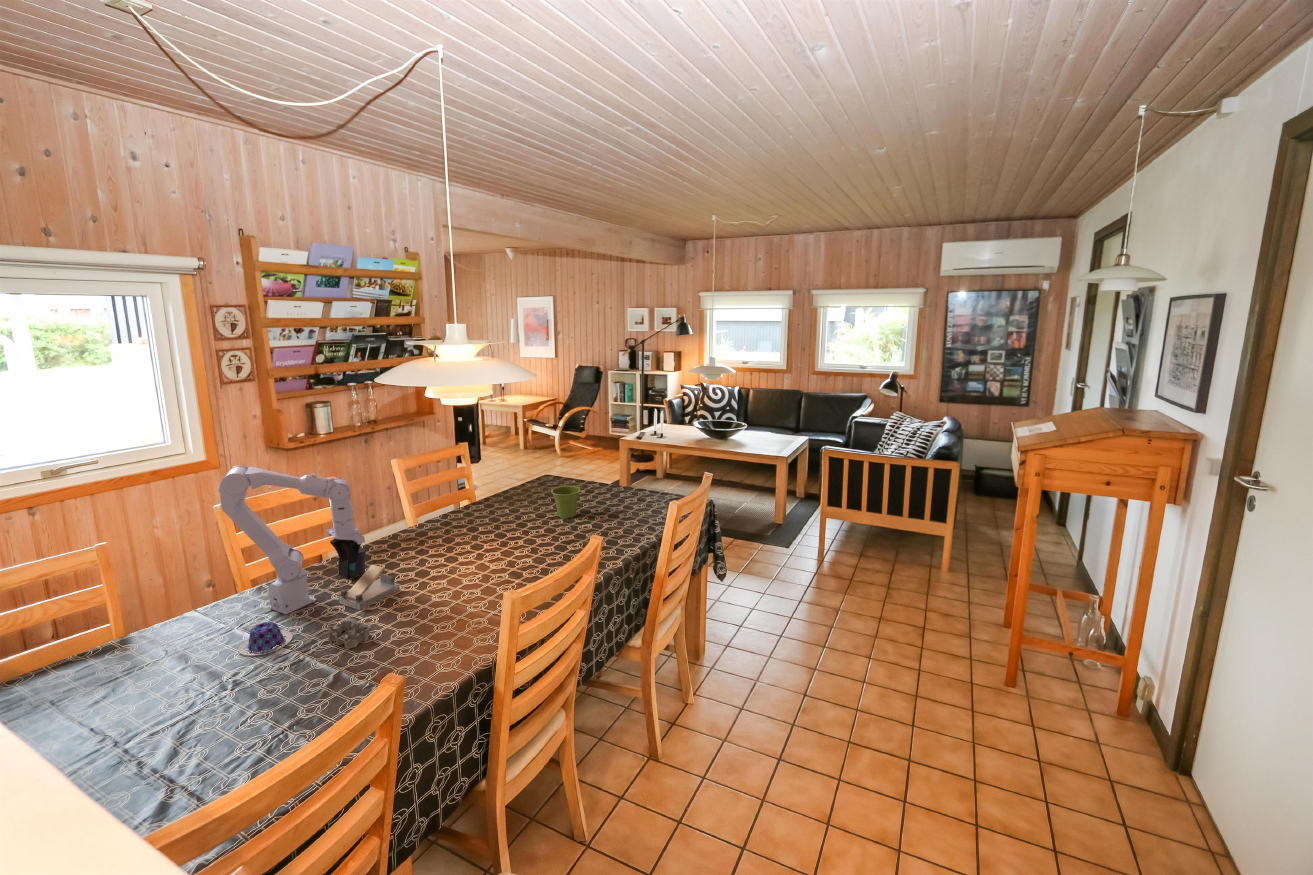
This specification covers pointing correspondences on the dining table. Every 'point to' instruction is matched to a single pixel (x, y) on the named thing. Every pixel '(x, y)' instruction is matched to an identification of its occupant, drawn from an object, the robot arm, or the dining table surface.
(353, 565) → the speaker
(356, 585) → the latch bar
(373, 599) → the block
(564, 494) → the plant pot
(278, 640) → the purple beige domed disc
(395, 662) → the dining table surface
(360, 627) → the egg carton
